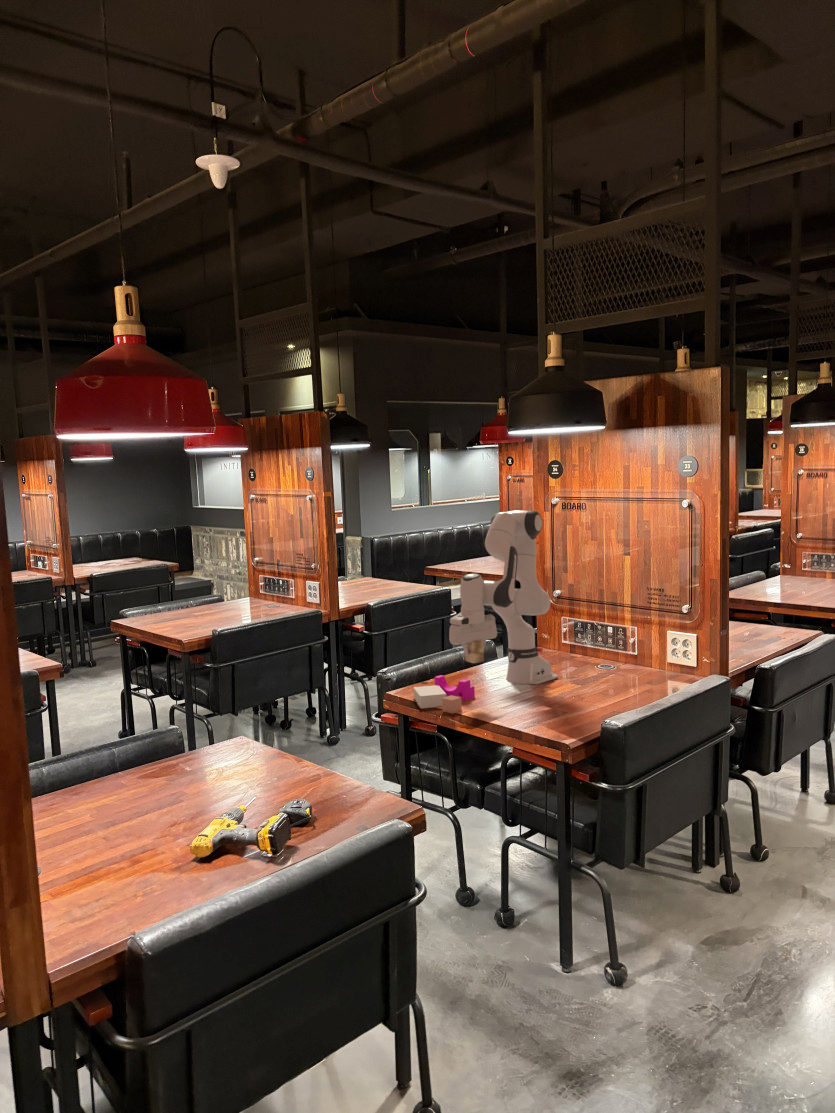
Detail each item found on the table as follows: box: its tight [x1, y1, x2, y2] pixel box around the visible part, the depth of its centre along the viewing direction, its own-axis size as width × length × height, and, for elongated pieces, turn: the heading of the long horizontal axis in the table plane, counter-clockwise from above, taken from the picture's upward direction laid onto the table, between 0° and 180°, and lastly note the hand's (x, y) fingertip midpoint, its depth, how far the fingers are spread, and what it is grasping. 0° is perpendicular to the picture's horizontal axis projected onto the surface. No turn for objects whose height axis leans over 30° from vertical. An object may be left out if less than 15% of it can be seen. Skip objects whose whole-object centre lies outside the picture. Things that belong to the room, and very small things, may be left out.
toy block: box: [434, 674, 476, 701], centre depth 314 cm, size 15×6×8 cm, turn 48°
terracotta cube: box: [441, 695, 463, 714], centre depth 294 cm, size 5×5×5 cm
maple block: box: [464, 640, 485, 664], centre depth 303 cm, size 5×5×8 cm
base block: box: [412, 684, 446, 709], centre depth 307 cm, size 10×14×5 cm
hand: (474, 653), depth 303 cm, fingers closed on maple block, 5 cm apart
